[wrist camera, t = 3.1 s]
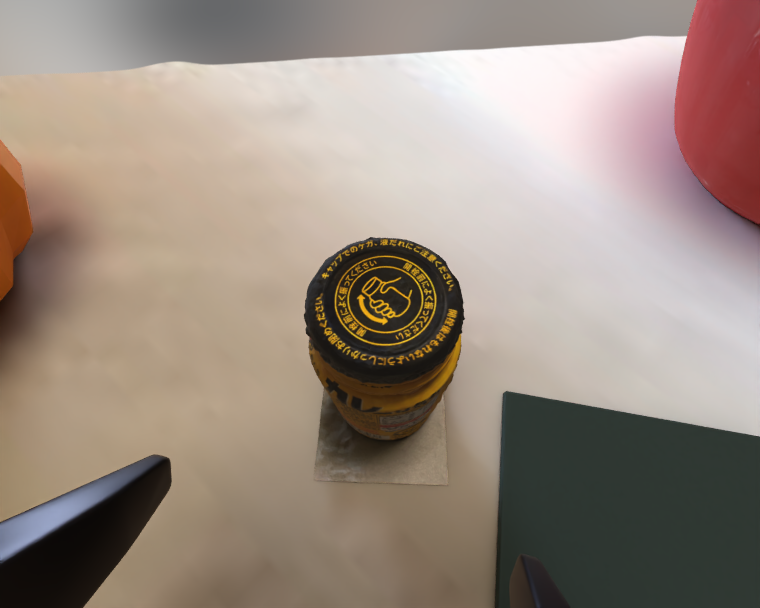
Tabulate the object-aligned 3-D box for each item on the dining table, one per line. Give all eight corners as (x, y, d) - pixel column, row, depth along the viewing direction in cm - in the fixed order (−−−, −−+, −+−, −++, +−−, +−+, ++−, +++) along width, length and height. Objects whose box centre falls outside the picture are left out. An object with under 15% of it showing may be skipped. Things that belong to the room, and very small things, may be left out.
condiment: (440, 340, 24) (483, 215, 13) (447, 485, 20) (516, 480, 9) (329, 337, 24) (280, 213, 13) (314, 480, 20) (227, 469, 9)
